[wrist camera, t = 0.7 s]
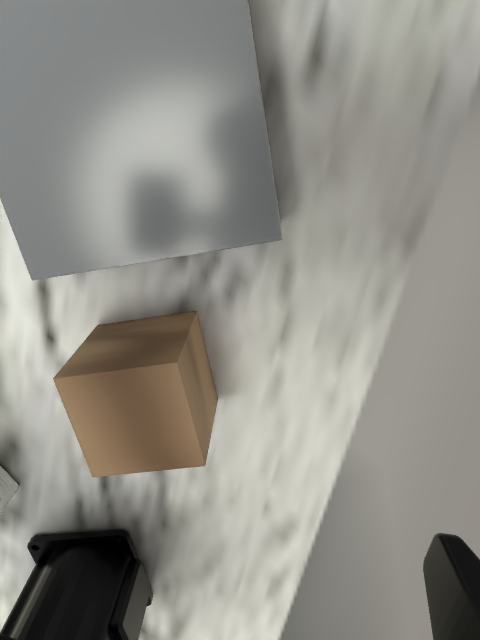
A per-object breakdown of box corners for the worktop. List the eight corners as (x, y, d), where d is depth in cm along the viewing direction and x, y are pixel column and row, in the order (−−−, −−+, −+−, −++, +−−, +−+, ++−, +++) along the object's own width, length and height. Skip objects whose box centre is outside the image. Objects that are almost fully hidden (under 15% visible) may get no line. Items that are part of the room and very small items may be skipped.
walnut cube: (126, 408, 24) (92, 476, 20) (97, 324, 22) (53, 378, 18) (217, 398, 24) (205, 465, 19) (197, 310, 22) (177, 362, 17)
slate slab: (63, 258, 21) (31, 280, 18) (-27, 1, 17) (-84, -21, 14) (280, 222, 20) (282, 239, 17) (238, -67, 16) (231, -105, 13)
